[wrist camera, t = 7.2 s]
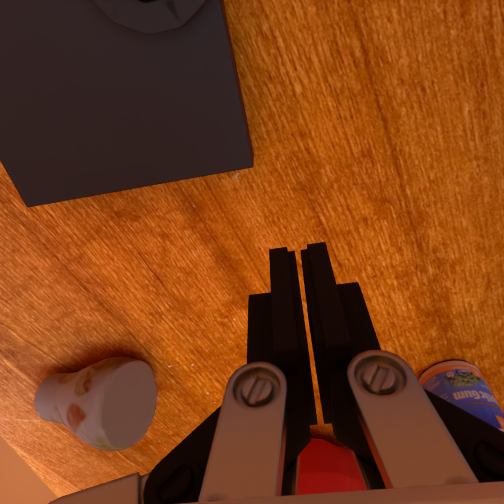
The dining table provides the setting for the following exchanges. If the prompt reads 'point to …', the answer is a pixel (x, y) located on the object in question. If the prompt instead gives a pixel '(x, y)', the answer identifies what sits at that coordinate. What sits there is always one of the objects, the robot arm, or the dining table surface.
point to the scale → (117, 96)
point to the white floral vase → (102, 402)
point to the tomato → (327, 469)
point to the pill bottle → (463, 390)
